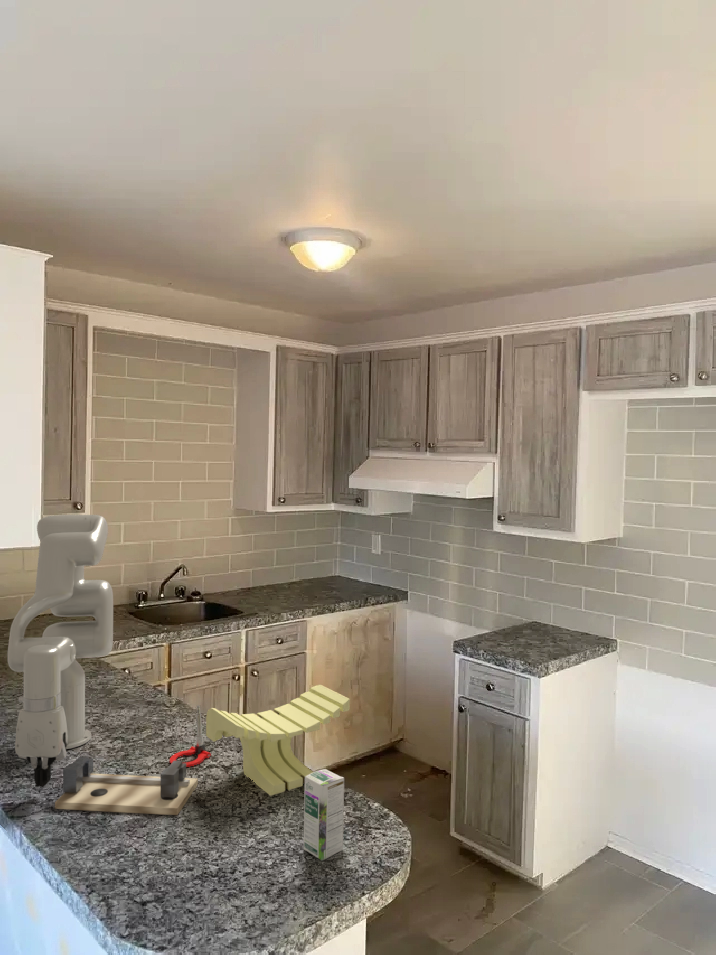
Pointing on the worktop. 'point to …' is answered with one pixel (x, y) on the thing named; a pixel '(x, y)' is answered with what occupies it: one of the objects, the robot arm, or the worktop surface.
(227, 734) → the slatted curved stool
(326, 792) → the syrup box
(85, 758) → the leg
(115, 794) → the bolt plate
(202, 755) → the tow hook
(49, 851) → the worktop surface
